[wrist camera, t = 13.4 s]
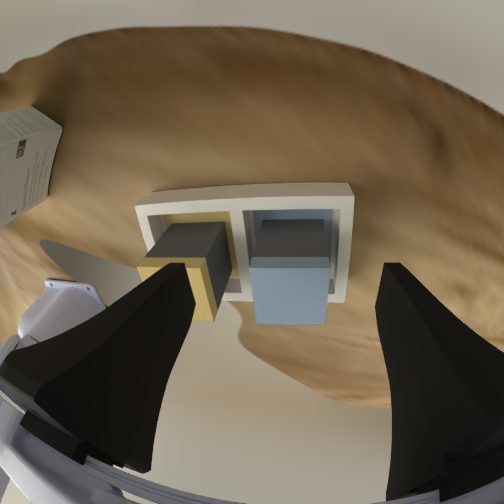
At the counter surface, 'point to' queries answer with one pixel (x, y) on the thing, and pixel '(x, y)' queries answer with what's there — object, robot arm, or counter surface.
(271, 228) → the blue plug
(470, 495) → the robot arm
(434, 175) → the counter surface
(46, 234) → the counter surface
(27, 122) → the skincare box
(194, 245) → the ochre plug
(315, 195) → the rack
